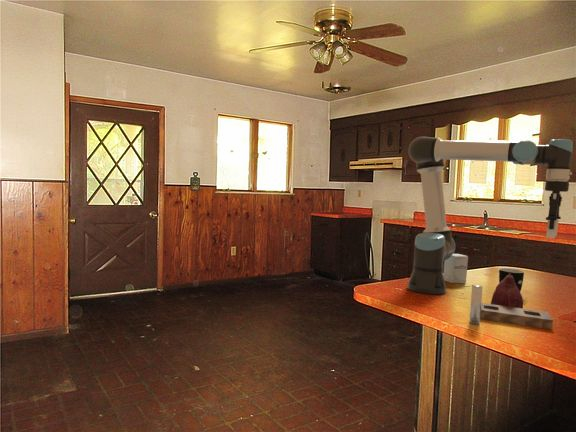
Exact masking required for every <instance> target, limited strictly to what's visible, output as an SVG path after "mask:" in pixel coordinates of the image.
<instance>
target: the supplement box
mask: <svg viewBox="0 0 576 432" xmlns="http://www.w3.org/2000/svg"><path fill="white" fill-rule="evenodd" d="M468 263H469V256H468V255H465V254H460V253H453V255H452V256H451V257H450V258H448V259H447V260H444V261H443V277H444V280H445V282H448V283H450V284H467V277H468V276H467V275H468V274H467V273H468Z"/></svg>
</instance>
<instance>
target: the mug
mask: <svg viewBox="0 0 576 432" xmlns="http://www.w3.org/2000/svg"><path fill="white" fill-rule="evenodd" d="M498 270H499V271H498V284H499V283H500V282H501V281H502V280H503V279H504V278H505V277H506V276H507V275H509V273H510V274H511V275H512V276H513V278H514V281H515V283H516V286H517V287H518V289H519V291H520V292H521V291H522V287H523V282H524V276H525V275H524V274H525V271H523V270H520V269H516V268H507V267H504V268H503V267H501V268H499V269H498Z"/></svg>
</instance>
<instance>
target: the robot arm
mask: <svg viewBox="0 0 576 432" xmlns="http://www.w3.org/2000/svg"><path fill="white" fill-rule="evenodd" d="M573 146H574V141H572V140H571V139H568V138H558V139H557V138H555V139H550V141H549V143H548V144H537V143H535V142H533V141H531V140H520V141H517V140H516V141H511V140H508V141H507V140H448V139H447V140H443V139H442V138H441V137H429V136H418V137H416V138H414V139H413V140H412V141H411V143H410V144H409V146H408V149H407V150H408V155H409V156H408V157H410V158H409V159H410V160H412V161H413V162H414V163H415V166H416V172H417V173H419V174H420V179H421V189H422V191H421V192H422V197H423V209H424V220H425V229H424V230H423V231H422V232H421V233H418V234H417V235H416V236H415V239H414V250H413V251H414V253H413V266H412V267H413V269H412V273H411V274H410V278H409V279H408V282H407V289H408V290H410V291H412V292H415V293H420V294H426V295H444V294H446V292H447V285H446V281H445V280H444V277H443V275H444V262H445V260H447V259H448V258H450V257H451V256H452V255H453V254H455V250H456V242H455V240H454V239H453V237H452V230H451V228H450V227H449V226H448V225H447V215H446V214H447V213H446V205H445V195H444V185H443V179H442V178H443V176H442V171H443V170H444V168H445V161H444V160H454V161H480V162H481V161H482V162H483V161H484V162H485V161H486V162H510V163H513V164H514V165H521V166H524V165H525V166H526V165H528V166H530V165H531V166H533V165H542V166H547V167H546V171H545V172H546V173H545V180H546V182H545V186H544V190H545V191H546V192H551V193H550V195H549V198H548V200H549V202H548V206H549V209H548V216H547V217H545V220H546V221H547V225H546V233H545V238H546V239H556V236H558V228H559V220H561V218H562V217H561V216H560V207H561V205H562V201H563V200H562V199H563V196H562V195H561V192H563V193H564V192H569V187H570V182H569V180H570V178H571V177H570V176H572V175H573V172H571V169H572V167H571V166H572V161H573V154H574V153H573V148H574V147H573Z"/></svg>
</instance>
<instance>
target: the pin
mask: <svg viewBox="0 0 576 432" xmlns="http://www.w3.org/2000/svg"><path fill="white" fill-rule="evenodd" d="M483 288H484V287H483V286H482V285H480V284H472V285H471V296H470V297H471V298H470V307H469V308H470V309H469V324H471V325H474V326H475V325H476V326H479V325H481V319H480V314H481V303H482V297H483Z"/></svg>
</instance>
